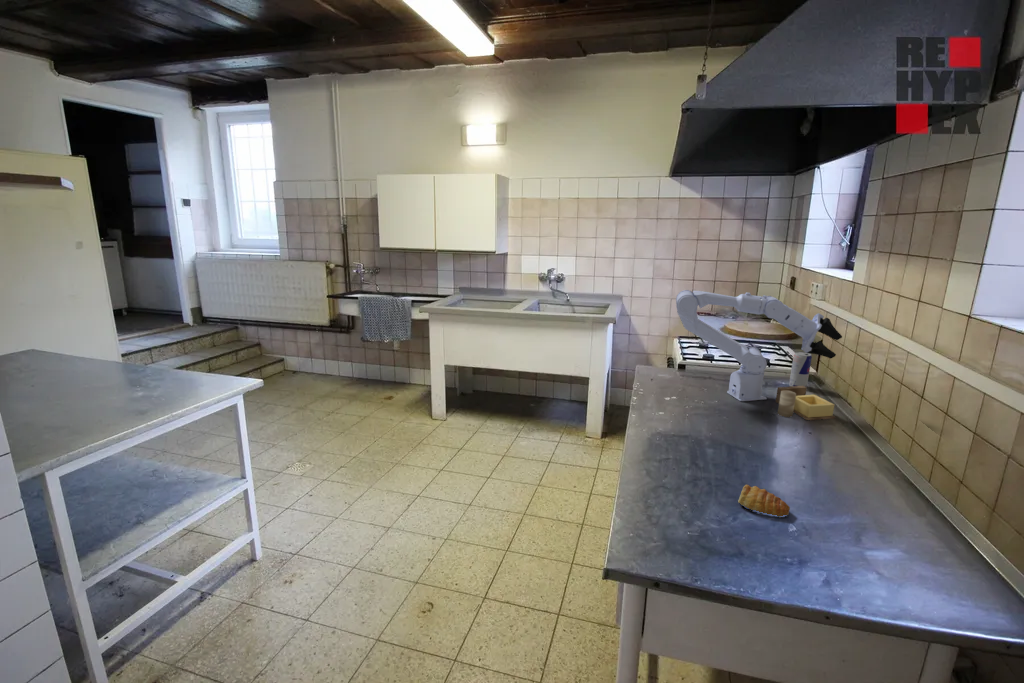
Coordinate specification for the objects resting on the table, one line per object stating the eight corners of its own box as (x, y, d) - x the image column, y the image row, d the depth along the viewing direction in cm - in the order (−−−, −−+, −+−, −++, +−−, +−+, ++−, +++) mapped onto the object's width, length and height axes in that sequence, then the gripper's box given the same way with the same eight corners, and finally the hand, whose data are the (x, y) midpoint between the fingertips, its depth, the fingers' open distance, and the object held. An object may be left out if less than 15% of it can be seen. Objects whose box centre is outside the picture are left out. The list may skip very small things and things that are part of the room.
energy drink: (809, 389, 167) (815, 356, 163) (793, 389, 167) (799, 356, 163) (801, 383, 172) (806, 351, 169) (785, 383, 172) (791, 351, 169)
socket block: (808, 417, 143) (810, 406, 142) (789, 406, 151) (791, 396, 150) (832, 415, 145) (834, 404, 144) (812, 405, 152) (814, 394, 151)
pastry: (790, 509, 102) (793, 493, 101) (785, 525, 97) (788, 508, 96) (743, 493, 108) (745, 478, 107) (735, 508, 103) (737, 492, 102)
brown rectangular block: (807, 420, 143) (810, 404, 142) (775, 401, 156) (777, 387, 155) (835, 418, 144) (838, 402, 143) (800, 400, 158) (803, 385, 156)
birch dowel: (783, 417, 145) (787, 395, 143) (774, 412, 149) (777, 390, 147) (795, 416, 146) (799, 394, 144) (786, 411, 150) (789, 390, 148)
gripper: (799, 334, 145) (840, 360, 143) (813, 300, 151) (852, 324, 149) (783, 344, 151) (822, 368, 150) (797, 311, 157) (835, 334, 156)
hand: (836, 347), depth 150 cm, fingers open, 7 cm apart
